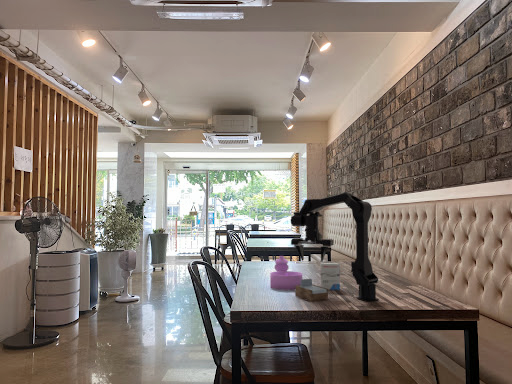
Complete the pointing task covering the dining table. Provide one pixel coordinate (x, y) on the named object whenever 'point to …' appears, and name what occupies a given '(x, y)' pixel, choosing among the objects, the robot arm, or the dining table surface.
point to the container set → (284, 276)
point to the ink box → (330, 276)
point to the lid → (311, 286)
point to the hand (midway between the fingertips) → (312, 261)
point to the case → (310, 294)
